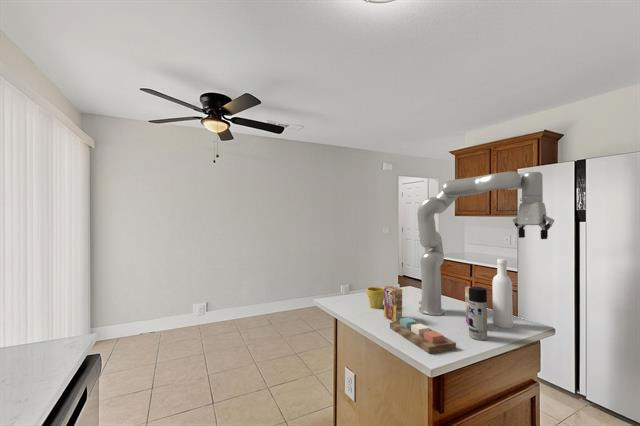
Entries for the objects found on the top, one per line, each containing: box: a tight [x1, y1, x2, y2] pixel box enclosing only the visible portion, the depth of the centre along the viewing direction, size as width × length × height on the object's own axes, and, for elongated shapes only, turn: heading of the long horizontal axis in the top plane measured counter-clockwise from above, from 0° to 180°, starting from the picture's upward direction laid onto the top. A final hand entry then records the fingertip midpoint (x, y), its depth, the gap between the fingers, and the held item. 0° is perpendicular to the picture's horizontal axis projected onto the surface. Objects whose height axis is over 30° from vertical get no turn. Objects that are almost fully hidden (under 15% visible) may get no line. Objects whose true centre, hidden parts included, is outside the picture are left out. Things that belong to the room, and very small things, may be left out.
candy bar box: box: [464, 286, 470, 326], centre depth 132 cm, size 11×5×16 cm, turn 163°
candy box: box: [383, 285, 403, 322], centre depth 141 cm, size 9×4×15 cm, turn 26°
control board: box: [389, 321, 457, 355], centre depth 118 cm, size 26×12×2 cm, turn 18°
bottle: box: [491, 258, 514, 329], centre depth 133 cm, size 8×8×30 cm
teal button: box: [400, 317, 418, 328], centre depth 126 cm, size 5×5×3 cm
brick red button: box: [424, 330, 444, 344], centre depth 111 cm, size 5×5×3 cm
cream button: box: [411, 323, 430, 336], centre depth 118 cm, size 5×5×3 cm
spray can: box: [468, 286, 488, 341], centre depth 119 cm, size 7×7×20 cm
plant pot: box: [366, 286, 384, 309], centre depth 160 cm, size 10×10×10 cm
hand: (532, 238), depth 129 cm, fingers open, 9 cm apart
